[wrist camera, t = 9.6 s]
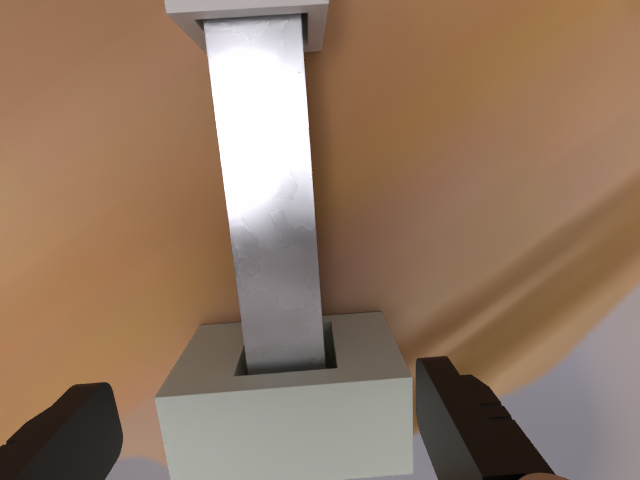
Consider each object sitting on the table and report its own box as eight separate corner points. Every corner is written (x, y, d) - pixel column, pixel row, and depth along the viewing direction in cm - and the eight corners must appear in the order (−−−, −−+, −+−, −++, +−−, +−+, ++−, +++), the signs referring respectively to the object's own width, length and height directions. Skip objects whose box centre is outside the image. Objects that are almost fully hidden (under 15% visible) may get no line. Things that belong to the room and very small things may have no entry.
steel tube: (294, -82, 18) (290, -151, 14) (327, 388, 24) (331, 435, 20) (209, -77, 18) (180, -145, 14) (264, 393, 24) (255, 442, 20)
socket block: (381, 311, 24) (412, 377, 17) (383, 384, 25) (412, 473, 18) (199, 325, 24) (154, 397, 17) (211, 397, 25) (173, 493, 18)
